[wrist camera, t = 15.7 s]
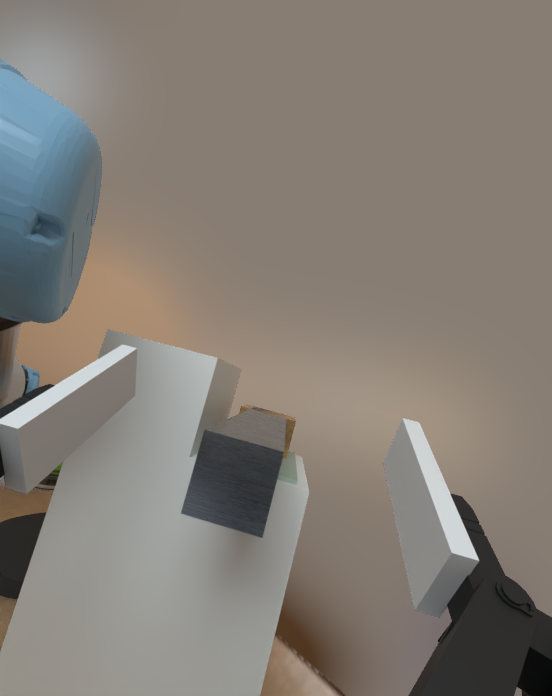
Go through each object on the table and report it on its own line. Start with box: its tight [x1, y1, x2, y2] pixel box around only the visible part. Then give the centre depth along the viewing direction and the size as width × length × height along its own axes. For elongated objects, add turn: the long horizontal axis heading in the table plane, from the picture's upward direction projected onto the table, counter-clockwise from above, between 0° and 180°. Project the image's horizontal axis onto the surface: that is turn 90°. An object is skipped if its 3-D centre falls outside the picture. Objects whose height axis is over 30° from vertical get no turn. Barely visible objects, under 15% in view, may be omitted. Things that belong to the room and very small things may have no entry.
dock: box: [0, 329, 309, 696], centre depth 33 cm, size 14×20×30 cm
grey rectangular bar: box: [181, 405, 296, 538], centre depth 27 cm, size 24×6×4 cm, turn 178°
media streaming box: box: [0, 512, 47, 599], centre depth 44 cm, size 15×15×3 cm
